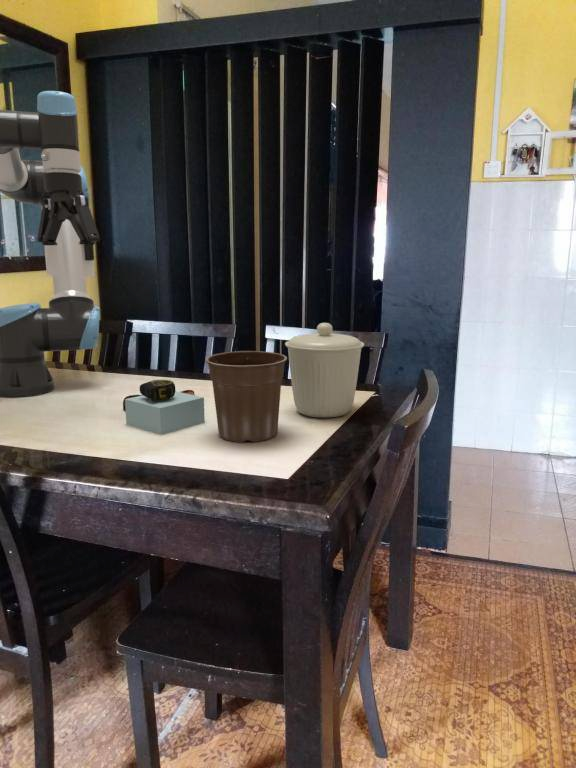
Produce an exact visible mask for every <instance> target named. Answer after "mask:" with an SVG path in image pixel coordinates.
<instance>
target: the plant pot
mask: <svg viewBox="0 0 576 768" xmlns="http://www.w3.org/2000/svg"><path fill="white" fill-rule="evenodd" d="M287 361H288V357H287V356H286V355H285V354H281V353H278V352H270V351H262V350H261V351H257V350H238V351H228V352H220V353H215V354H212V355H209V356H207V357H206V358H205V362H206V364H207V365H208V371H209V377H210V380H211V382H212V389H213V396H214V406H215V413H216V414H215V415H216V421H217V422H216V423H217V431H218V435H219V437H220V438H222V439H224V440H226V441H229V442H236V443H245V442H246V441H251V442H252V443H257V442H264V441H267V440H270V439H272V438H274V437H276V436H277V434H278V431H279V430H278V429H279V417H280V416H279V414H280V402H281V401H280V400H281V393H282V392H281V391H282V390H281V389H282V380H283V378H284V372H285V363H286V362H287Z"/></svg>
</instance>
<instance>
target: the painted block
mask: <svg viewBox="0 0 576 768" xmlns="http://www.w3.org/2000/svg"><path fill="white" fill-rule="evenodd" d="M141 395H142V394H141ZM125 409H126V412H125V422H126V425H128V426H131V427H135V428H138V429H141V430H144V431H148V432H151V433H154V434H158V435H159V436H160V435H166V434H168V433H172V432H175V431H179V430H182V429H185V428H190V427H193V426H194V427H195V426H197V425H200V424H204V423H205V421H206V419H205V397H204V396H198V395H190V394H186V393H181V391H176V390H175V395H174V396H173V397H171V398H168V399H161V400H155V401H153V400H151V399H149V398H147V397H145V396H143V395H142V396H137V397H133V398H128V399H125Z"/></svg>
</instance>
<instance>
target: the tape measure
mask: <svg viewBox="0 0 576 768" xmlns="http://www.w3.org/2000/svg"><path fill="white" fill-rule="evenodd" d="M175 391H176V384H175V383H174V381H173V380H170V379H154V380H153V379H152V380H150V381H147V382H144V383H141V384H140V385H139V393H140V395H143V396H145V397H147V398H149V399H151V400H153V401H155V400H161V399H168V398H171V397H173V396H174V395H175Z"/></svg>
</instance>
